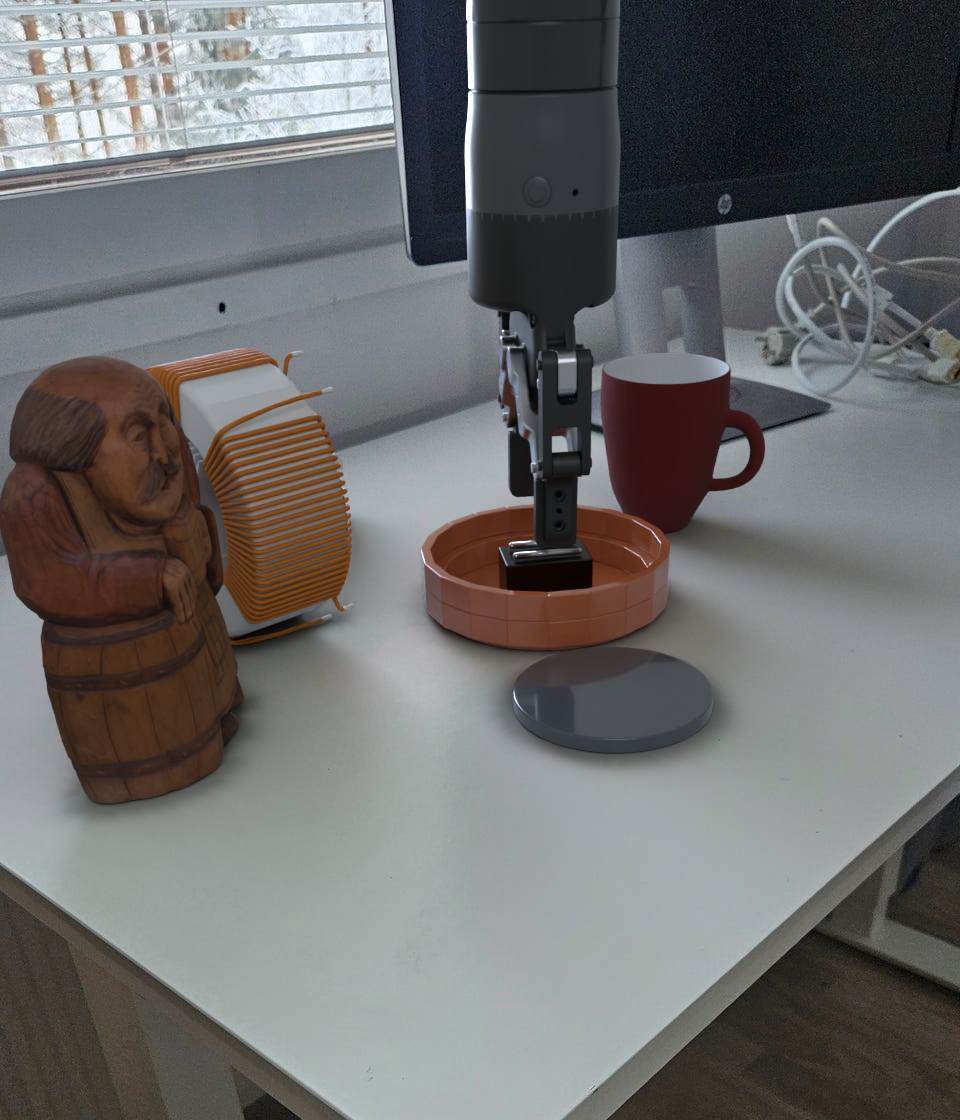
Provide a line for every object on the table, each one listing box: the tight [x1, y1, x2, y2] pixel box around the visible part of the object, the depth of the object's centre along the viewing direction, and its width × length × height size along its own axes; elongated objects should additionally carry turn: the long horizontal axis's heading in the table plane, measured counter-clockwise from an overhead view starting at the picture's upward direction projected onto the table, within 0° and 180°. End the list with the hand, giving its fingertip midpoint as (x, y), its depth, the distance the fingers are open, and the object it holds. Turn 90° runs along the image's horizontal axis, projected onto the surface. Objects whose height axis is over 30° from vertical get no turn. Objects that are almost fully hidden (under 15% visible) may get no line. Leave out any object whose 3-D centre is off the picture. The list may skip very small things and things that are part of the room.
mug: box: [600, 352, 766, 534], centre depth 80 cm, size 11×8×10 cm
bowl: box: [420, 503, 672, 651], centre depth 72 cm, size 14×14×4 cm
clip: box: [499, 540, 593, 592], centre depth 72 cm, size 5×3×3 cm, turn 98°
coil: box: [143, 347, 356, 646], centre depth 68 cm, size 7×15×15 cm, turn 40°
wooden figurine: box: [0, 355, 245, 805], centre depth 55 cm, size 12×6×18 cm, turn 173°
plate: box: [512, 646, 714, 754], centre depth 62 cm, size 10×10×1 cm
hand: (540, 518), depth 70 cm, fingers open, 8 cm apart
